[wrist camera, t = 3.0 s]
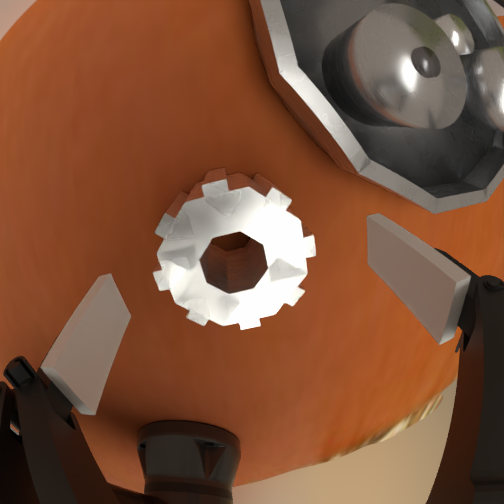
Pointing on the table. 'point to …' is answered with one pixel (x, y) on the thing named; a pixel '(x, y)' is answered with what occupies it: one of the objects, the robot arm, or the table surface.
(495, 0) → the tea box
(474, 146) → the tray
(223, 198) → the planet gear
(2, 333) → the table surface
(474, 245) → the table surface
